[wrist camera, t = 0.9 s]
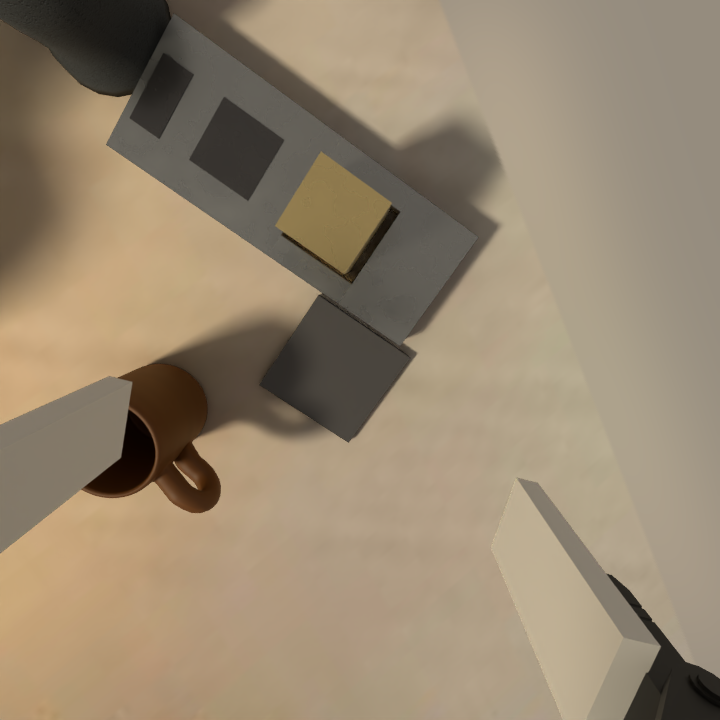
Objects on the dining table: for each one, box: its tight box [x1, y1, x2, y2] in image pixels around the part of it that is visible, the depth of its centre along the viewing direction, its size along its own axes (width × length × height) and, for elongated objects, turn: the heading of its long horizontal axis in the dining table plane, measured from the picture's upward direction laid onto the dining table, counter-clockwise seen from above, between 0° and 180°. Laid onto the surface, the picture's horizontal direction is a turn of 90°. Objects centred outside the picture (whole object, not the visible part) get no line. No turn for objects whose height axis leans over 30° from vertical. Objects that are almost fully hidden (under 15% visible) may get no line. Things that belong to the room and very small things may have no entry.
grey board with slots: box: [106, 14, 478, 346], centre depth 34 cm, size 26×10×2 cm, turn 56°
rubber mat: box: [260, 295, 410, 443], centre depth 38 cm, size 9×9×1 cm
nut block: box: [275, 152, 392, 274], centre depth 31 cm, size 5×5×9 cm
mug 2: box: [81, 364, 221, 513], centre depth 35 cm, size 12×8×9 cm, turn 49°
